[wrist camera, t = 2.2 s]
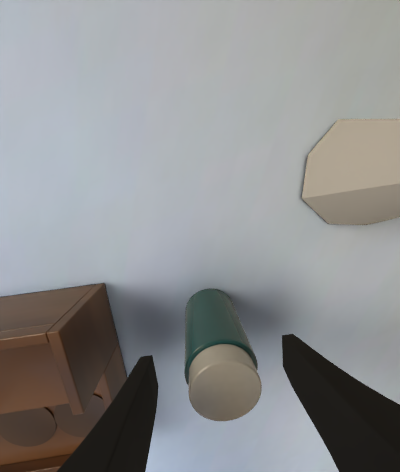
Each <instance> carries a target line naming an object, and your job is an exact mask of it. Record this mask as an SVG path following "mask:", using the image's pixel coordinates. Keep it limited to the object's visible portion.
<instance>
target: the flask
mask: <svg viewBox="0 0 400 472" xmlns="http://www.w3.org/2000/svg"><path fill="white" fill-rule="evenodd" d="M302 199H303V200H304V201H305V202H306V203H307V204H308V205H309V206H310V207H311V208H312V209H313V210H314V211H315V212H316V213H318V214H319V215H320V216H321V217H322V218H323V219H324V220H325V221H326V222H327V223H328V224H348V225H368V224H373V223H378V222H382V221H386V220H390V219H394V218H398V217H400V119H339V120H338V121H337V122H336V123H335V124H334V125H333V126H332V128H331V129H330V130H329V131H328V132H327V133H326V135H325V136H324V137H323V138H322V139H321V140H320V142H319V143H318V144H317V145H316V146H315V147H314V149H313V150H312V151H311V152H310V153H309V154H308V158H307V165H306V172H305V179H304V186H303V193H302Z"/></svg>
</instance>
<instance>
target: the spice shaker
mask: <svg viewBox="0 0 400 472" xmlns="http://www.w3.org/2000/svg"><path fill="white" fill-rule="evenodd" d="M185 379H186V382H187V384H188V386H189V399H190V402H191V405H192V406H193V408H194V409H195V411H196V412H197V413H199V414H200V415H201V416H203V417H205V418H207V419H210V420H214V421H230V420H234V419H237V418H239V417H242V416H243V415H245V414H247V413H248V412H249V411H250V410H252V409H253V407H254V406H255V405H256V404H257V402H258V400H259V398H260V395H261V386H262V385H261V380H260V377H259V374H258V372H257V360H256V357H255V354H254V352H253V349H252V347H251V345H250V342H249V340H248V338H247V335H246V333H245V331H244V328H243V326H242V324H241V321H240V319H239V317H238V314H237V312H236V310H235V307H234V305H233V303H232V301H231V299H230V297H229V296H228V295H227V294H225V293H224V292H222V291H220V290H217V289H205V290H201V291H199V292H197V293H196V294H194V295H193V296H192V297H191V298H190V300H189V301H188V303H187V306H186V311H185Z"/></svg>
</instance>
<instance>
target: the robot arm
mask: <svg viewBox="0 0 400 472" xmlns="http://www.w3.org/2000/svg"><path fill="white" fill-rule="evenodd" d="M282 349H283V367H284V370H285V372H286V374H287V376H288V379H289V381H290V383H291V385H292V387H293V389H294V391H295V393H296V394H297V396H298V398H299V400H300V401H301V403H302V405H303V407H304V408H305V410H306V412H307V413H308V415H309V417H310V419H311V420H312V422H313V424H314V425H315V427H316V429H317V431H318V432H319V434H320V436H321V438H322V439H323V441H324V443H325V445H326V447H327V448H328V450H329V452H330V454H331V456H332V458H333V460H334V462H335V464H336V466H337V468H338V470H339V472H400V405H399V404H397V403H396V402H394V401H392V400H390V399H388V398H387V397H385V396H383V395H381V394H380V393H378V392H376V391H375V390H373V389H371V388H369V387H368V386H366V385H365V384H363V383H361V382H360V381H358V380H357V379H355V378H353V377H352V376H350V375H349V374H347V373H346V372H344V371H343V370H341V369H340V368H338V367H337V366H336V365H334V364H333V363H331V362H330V361H328V360H327V359H326V358H324V357H323V356H322V355H320V354H319V353H318V352H316V351H315V350H313V349H312V348H311V347H310V346H308V345H307V344H306V343H304V342H303V341H302V340H300V339H299V338H298V337H296V336H295V335H294V334H289V335H282ZM157 396H158V382H157V377H156V372H155V367H154V362H153V357H152V355H150V356H144V357H140V359H139V360H138V362H137V363H136V365H135V367H134V368H133V370H132V372H131V373H130V375H129V377H128V378H127V380H126V381H125V383H124V384H123V386H122V387H121V389H120V390H119V392H118V394H117V395H116V397H115V398H114V400H113V401H112V402H111V404H110V405H109V407H108V408H107V409H106V411H105V412H104V414H103V415H102V416H101V418H100V419H99V421H98V422H97V423H96V425H95V426H94V427H93V428H92V430H91V431H90V432H89V434H88V435H87V436H86V437H85V439H84V440H83V441H82V442H81V444H80V445H79V446H78V447H77V448H76V450H75V451H74V452H73V453H72V454H71V455H70V457H69V458H68V459H67V460H66V461H65V462H64V464H63V465H62V466H61V467H60V468H59V469H58V470H57V472H145V470H146V464H147V459H148V453H149V448H150V442H151V437H152V431H153V426H154V420H155V414H156V408H157Z"/></svg>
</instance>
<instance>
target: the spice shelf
mask: <svg viewBox="0 0 400 472" xmlns="http://www.w3.org/2000/svg"><path fill="white" fill-rule="evenodd" d="M126 380H127V376H126V372H125V368H124V364H123V360H122V355H121V351H120V347H119V343H118V339H117V334H116V330H115V326H114V322H113V318H112V313H111V309H110V305H109V301H108V297H107V292H106V288H105V284H104V283H102V284H94V285H86V286H79V287H72V288H64V289H57V290H50V291H42V292H35V293H28V294H20V295H13V296H6V297H0V472H57V470H58V469H59V468H60V467H61V466H62V465H63V464H64V462H65V461H66V460H67V459H68V458H69V457H70V455H71V454H72V453H73V452H74V451H75V450H76V448H77V447H78V446H79V445H80V444H81V442H82V441H83V440H84V439H85V437H86V436H87V435H88V434H89V432H90V431H91V430H92V428H93V427H94V426H95V425H96V423H97V422H98V421H99V419H100V418H101V416H102V415H103V414H104V412H105V411H106V409H107V408H108V407H109V405H110V404H111V402H112V401H113V400H114V398H115V397H116V395H117V394H118V392H119V390H120V389H121V387H122V386H123V384H124V383H125V381H126Z"/></svg>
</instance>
